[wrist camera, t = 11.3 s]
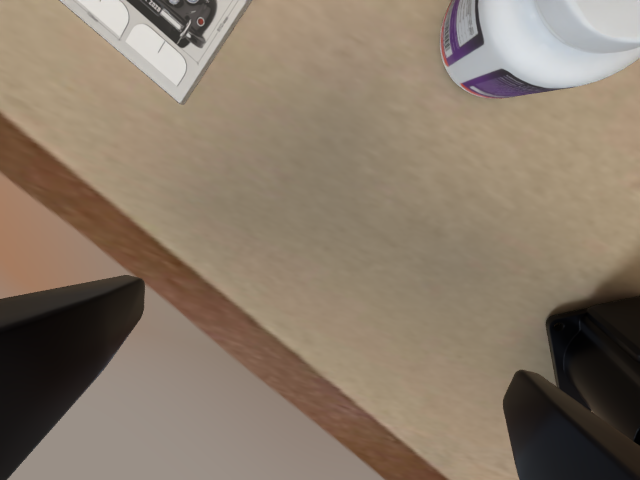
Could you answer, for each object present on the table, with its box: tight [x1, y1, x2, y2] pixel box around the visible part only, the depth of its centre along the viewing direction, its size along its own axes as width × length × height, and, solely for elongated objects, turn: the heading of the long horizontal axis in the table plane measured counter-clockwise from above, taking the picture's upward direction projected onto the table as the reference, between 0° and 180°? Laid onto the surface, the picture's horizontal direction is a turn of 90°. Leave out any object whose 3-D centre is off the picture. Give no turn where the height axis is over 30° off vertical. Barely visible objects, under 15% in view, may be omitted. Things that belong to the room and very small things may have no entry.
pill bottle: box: [440, 0, 640, 98], centre depth 12 cm, size 5×5×10 cm
